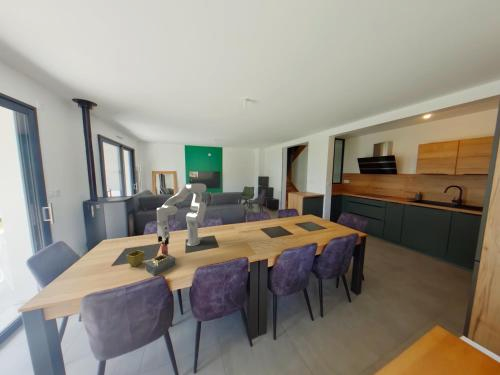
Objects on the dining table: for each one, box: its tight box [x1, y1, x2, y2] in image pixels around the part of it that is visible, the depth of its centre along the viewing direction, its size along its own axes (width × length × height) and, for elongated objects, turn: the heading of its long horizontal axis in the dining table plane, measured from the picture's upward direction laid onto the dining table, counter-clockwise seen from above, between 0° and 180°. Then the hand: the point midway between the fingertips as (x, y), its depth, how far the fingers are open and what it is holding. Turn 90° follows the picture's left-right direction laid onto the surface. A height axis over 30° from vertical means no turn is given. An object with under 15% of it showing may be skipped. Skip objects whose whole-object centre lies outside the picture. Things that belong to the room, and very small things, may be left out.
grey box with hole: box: [144, 253, 176, 276], centre depth 125 cm, size 16×12×8 cm
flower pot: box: [125, 250, 145, 267], centre depth 130 cm, size 9×9×9 cm
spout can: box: [160, 240, 169, 255], centre depth 138 cm, size 5×5×15 cm
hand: (163, 243), depth 137 cm, fingers open, 9 cm apart
